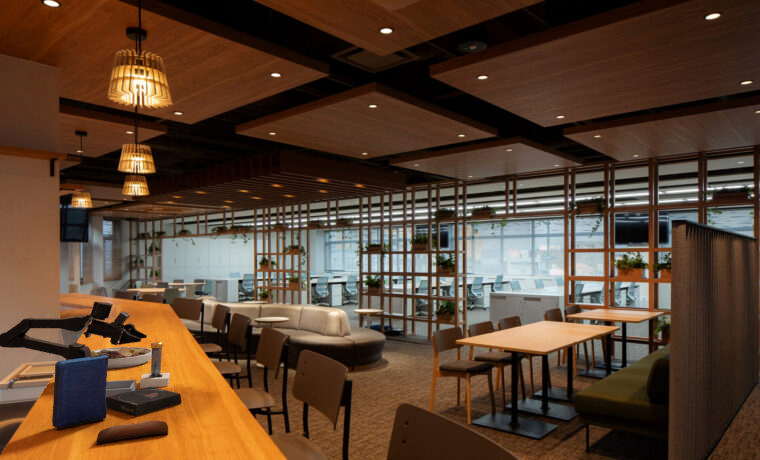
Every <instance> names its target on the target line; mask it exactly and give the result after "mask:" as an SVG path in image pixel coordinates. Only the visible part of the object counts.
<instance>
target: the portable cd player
mask: <svg viewBox="0 0 760 460" xmlns="http://www.w3.org/2000/svg"><path fill="white" fill-rule="evenodd" d="M182 401H183V400H182V395H181V393H178V392H175V391H170V390H166V389H162V388H158V387H146V388H140V389H139V388H138V389H136V390H134V391H130V392H126V393H121V394H117V395H113V396H108V397H106V403H107V410H108V409H109V410H112V411H114V412H118V413H122V414H124V415H129V416H133V417H134V418H136V417H139V416H143V415H146V414H150V413H153V412H157V411H160V410H164V409H168V408H171V407H172V408H173V407H174V406H178V405H181V404H182Z"/></svg>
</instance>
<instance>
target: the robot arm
mask: <svg viewBox="0 0 760 460" xmlns="http://www.w3.org/2000/svg"><path fill="white" fill-rule="evenodd" d="M92 305H93V306H92V308H91V313H89V314H86V315H76V316H70V317H65V318H62V317H60V318H59V317H55V318H50V317H48V318H44V317H43V318H42V317H40V318H36V317H27V318H23V319H22V320H21V321H20V322H19V323H17V324H16V325H13V327H11V328H10V329H9V330H7V331H5V332H2V333H0V347H1V348H5V349H6V348H8V349H9V348H10V349H14V348H16V349H17V348H18V349H20V348H23V349H27V350H32V351H36V352H37V351H38V352H42V353H46V354H51V355H57V356H60V357H62V358H64V359H65V360H72V359H79V358H86V357H90V355H91V351H92V350H91V349H90V347H89V346H87V345H86V343H79V342H76V341H75V342H72V343H69V345H66V344H63V343H57V342H52V341H48V340H43V339H39V338H35V337H30V336H29V335H28V334H27V333H28V332H29V331H30V330H31V329H60V330H61V329H62V330H66V331H70V332H76V333H77V332H81V331H83V330H85V329H86V330H85V331H83V333H82V334H84V337H85V339H89V338H91V335H96V336H100V337H102V338H103V339H107V338H108V339H110V341H109V342H110V345H112V346H113V345H114V346H121V345H126V344H128V345H129V344H133V343H140V342H142V339H147V336H148V335H147V334H145V333H144V332H141V331H140V330H137V328H136V326H135V323H131V322H129V323H126V324H125V322H126V321H127V320H128V319H129V318H130V317H131V315H130V314H128V313H129V312H126V311H121V312H119V314H118V315H117V317H116V318H115V319H114V321H111V322H106V321H105V320H106V319H109V317H110V315H111V311H112V308H113V304H112V303H110V302H106V301H103V302H102V301H96V300H95V301H93V304H92Z"/></svg>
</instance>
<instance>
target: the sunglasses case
mask: <svg viewBox="0 0 760 460" xmlns="http://www.w3.org/2000/svg"><path fill="white" fill-rule="evenodd" d="M97 433H98V434H97V437H96V446H97V445H100V444H105V443H109V442H110V443H111V442H115V441H120V440H125V439H131V438H139V437H146V436H148V437H149V436H154V435H163V434H167V435H169V425H168V423H167V422H166V421H163V420H157V419H155V420H145V421H142V422H137V423H130V424H117V425H113V426H109V427H106V428H104V429H101V430H100V431H99V432H97Z"/></svg>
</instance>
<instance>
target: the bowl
mask: <svg viewBox="0 0 760 460" xmlns="http://www.w3.org/2000/svg"><path fill="white" fill-rule="evenodd" d="M102 354H104V355H106V356H108V368H107V370H108V369H123V368H132V367H136V366H139V365H143V364H146V363H147V362H149V360H151V358H152V348H147V347H141V346H140V347H139V346H137V347H135V346H122V347H121V346H120V347H108V348H107V347H106V348H100V349H94V350H91V355H90V357H94V356H98V355H102Z"/></svg>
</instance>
